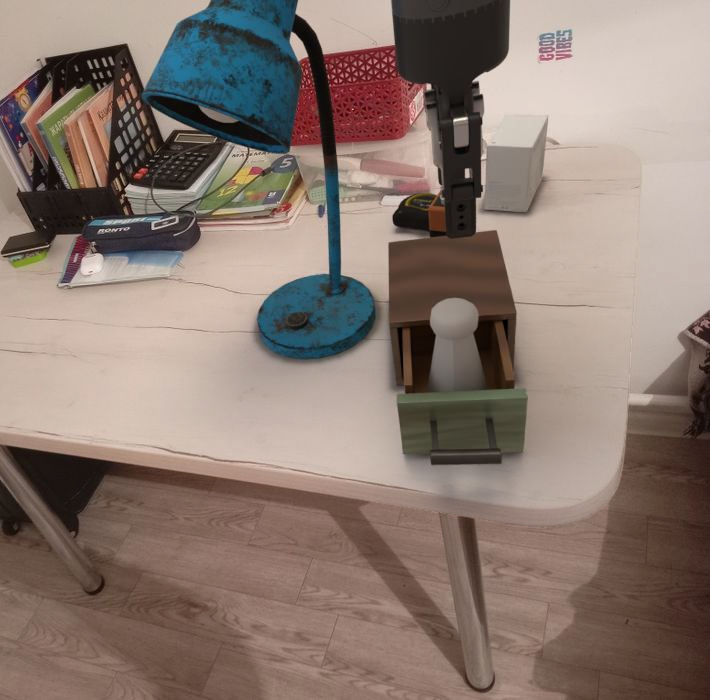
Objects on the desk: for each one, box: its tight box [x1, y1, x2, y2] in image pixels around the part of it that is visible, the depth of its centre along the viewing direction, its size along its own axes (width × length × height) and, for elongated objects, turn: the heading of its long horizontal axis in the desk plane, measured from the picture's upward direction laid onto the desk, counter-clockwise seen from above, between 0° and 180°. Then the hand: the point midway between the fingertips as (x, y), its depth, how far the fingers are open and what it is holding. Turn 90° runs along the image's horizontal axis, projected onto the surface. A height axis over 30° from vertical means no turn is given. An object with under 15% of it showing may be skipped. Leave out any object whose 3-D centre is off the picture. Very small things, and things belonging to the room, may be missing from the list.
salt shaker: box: [427, 298, 487, 393], centre depth 61 cm, size 6×6×13 cm
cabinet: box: [387, 229, 518, 386], centre depth 73 cm, size 16×13×10 cm
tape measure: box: [391, 192, 438, 233], centre depth 94 cm, size 7×7×4 cm
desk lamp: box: [141, 0, 377, 360], centre depth 69 cm, size 16×22×45 cm
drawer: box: [396, 320, 529, 466], centre depth 63 cm, size 19×11×8 cm, turn 169°
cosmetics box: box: [483, 113, 549, 213], centre depth 92 cm, size 10×6×10 cm, turn 148°
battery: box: [428, 189, 447, 238], centre depth 85 cm, size 4×7×10 cm, turn 147°
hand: (455, 207), depth 51 cm, fingers open, 8 cm apart
